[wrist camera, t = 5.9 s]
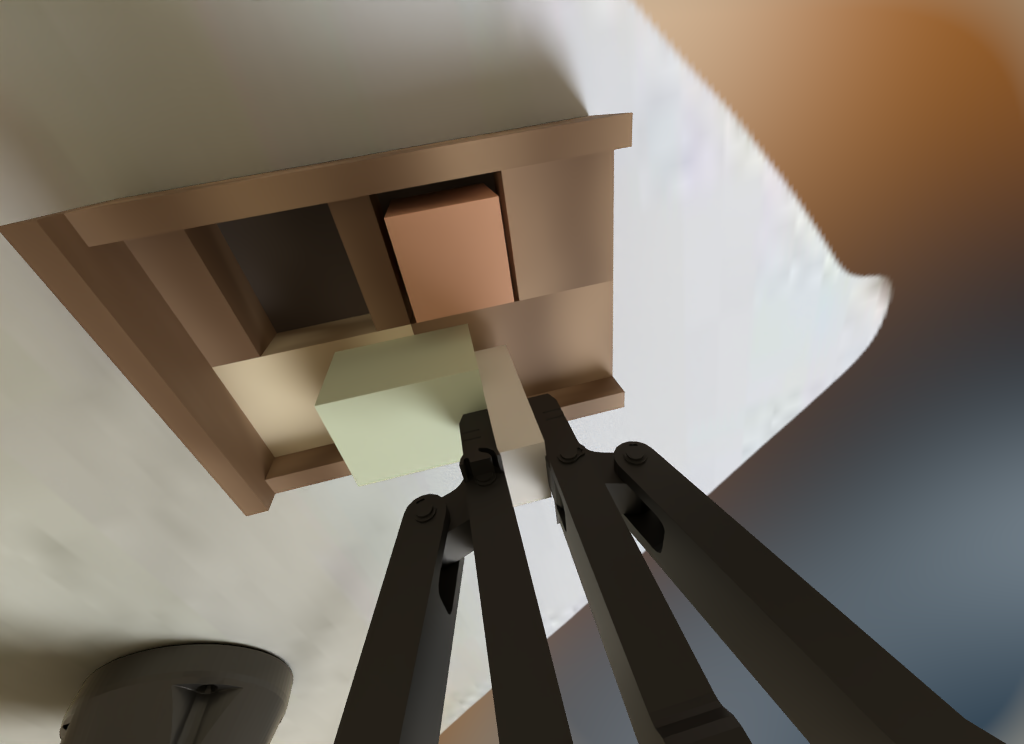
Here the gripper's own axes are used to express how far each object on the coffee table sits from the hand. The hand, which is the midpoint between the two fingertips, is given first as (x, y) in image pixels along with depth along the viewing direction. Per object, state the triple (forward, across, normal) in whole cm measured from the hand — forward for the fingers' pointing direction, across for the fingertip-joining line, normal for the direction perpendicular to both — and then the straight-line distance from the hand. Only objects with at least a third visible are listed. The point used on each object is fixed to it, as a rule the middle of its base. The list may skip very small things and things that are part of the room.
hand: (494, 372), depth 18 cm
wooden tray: (+4, +3, -3) cm, 6 cm away
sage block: (+1, +4, 0) cm, 4 cm away
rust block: (+3, +1, -6) cm, 7 cm away
